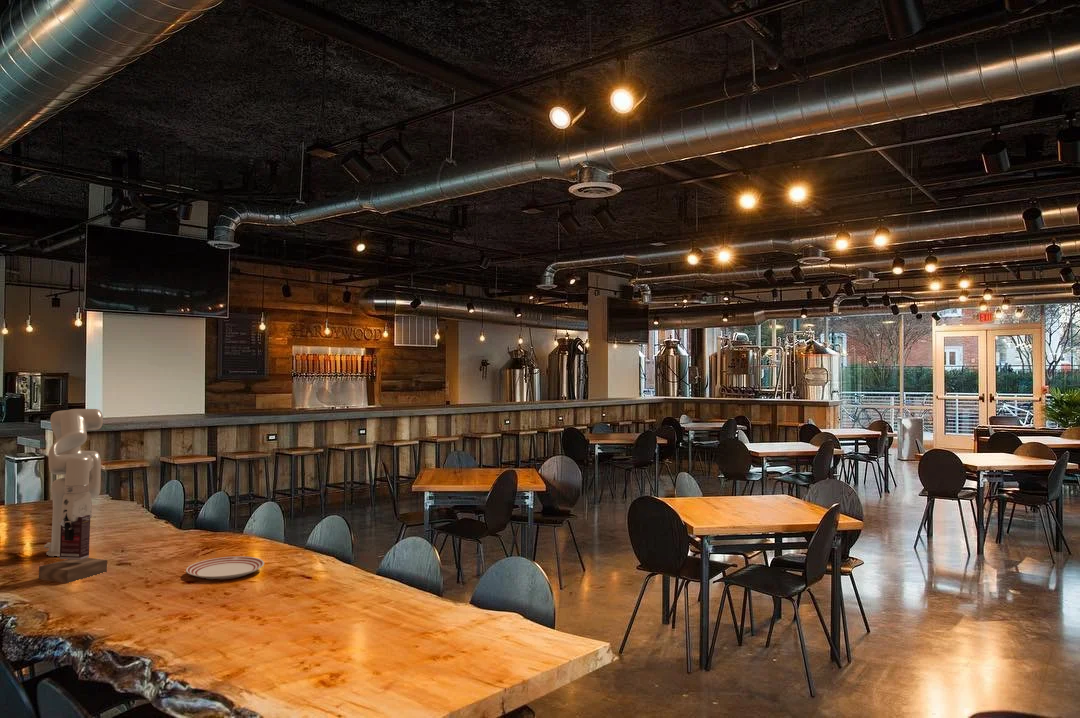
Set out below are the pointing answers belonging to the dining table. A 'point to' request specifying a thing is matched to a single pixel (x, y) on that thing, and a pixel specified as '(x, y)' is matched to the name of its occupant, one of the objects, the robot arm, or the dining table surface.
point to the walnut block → (72, 569)
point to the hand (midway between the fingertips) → (74, 538)
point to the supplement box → (76, 540)
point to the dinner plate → (225, 567)
